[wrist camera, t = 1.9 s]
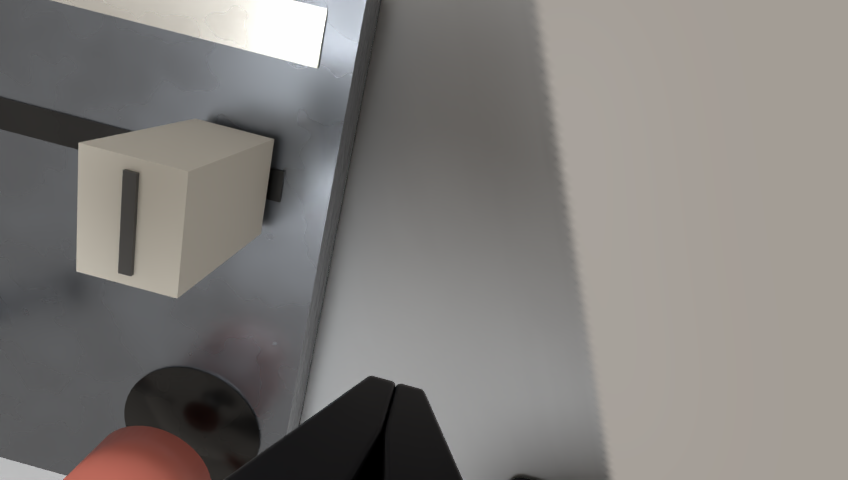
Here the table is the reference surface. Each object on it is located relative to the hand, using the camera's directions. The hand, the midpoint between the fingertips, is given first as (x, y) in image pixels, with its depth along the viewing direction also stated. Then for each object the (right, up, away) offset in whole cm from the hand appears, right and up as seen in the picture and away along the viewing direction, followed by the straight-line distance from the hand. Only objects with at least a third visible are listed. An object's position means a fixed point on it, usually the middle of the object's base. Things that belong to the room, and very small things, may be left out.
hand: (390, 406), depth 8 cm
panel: (-12, +3, +12) cm, 17 cm away
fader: (-5, +4, +8) cm, 11 cm away
